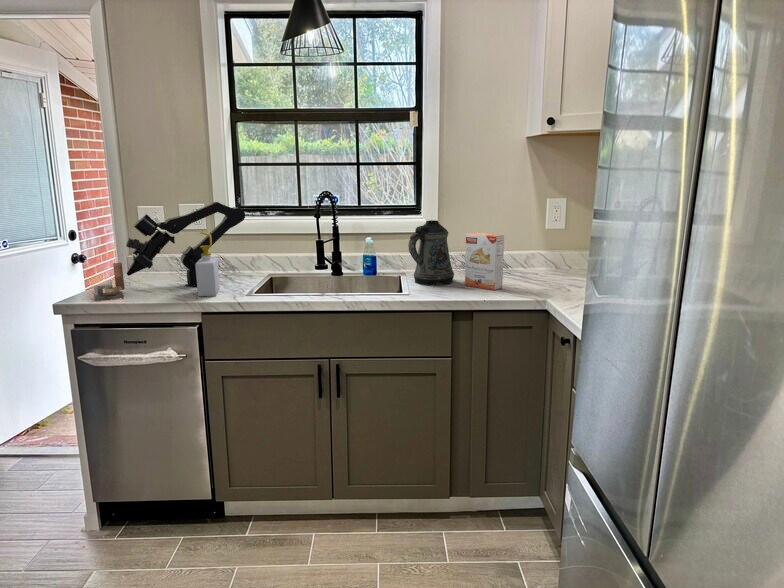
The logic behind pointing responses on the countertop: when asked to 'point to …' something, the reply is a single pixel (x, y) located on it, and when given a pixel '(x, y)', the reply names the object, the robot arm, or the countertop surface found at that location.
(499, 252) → the cracker box
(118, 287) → the link
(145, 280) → the countertop surface
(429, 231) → the beer stein
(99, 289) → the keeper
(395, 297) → the countertop surface
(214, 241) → the robot arm
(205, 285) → the soap bottle
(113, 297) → the base plate
